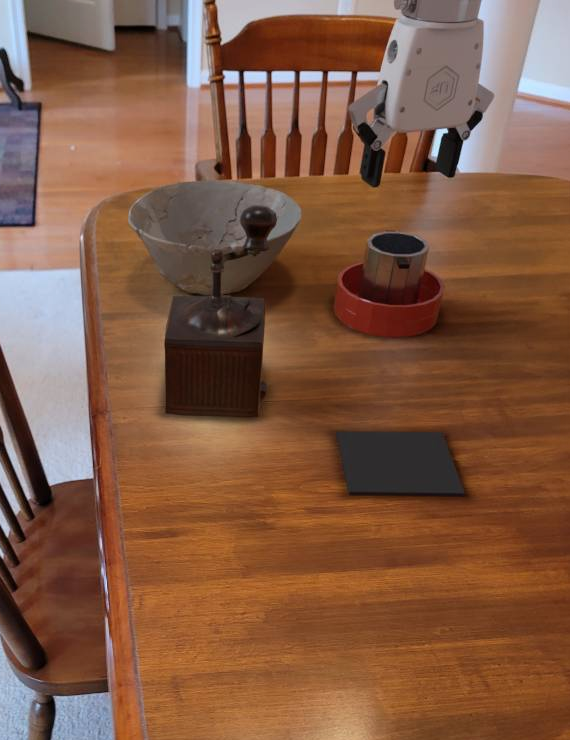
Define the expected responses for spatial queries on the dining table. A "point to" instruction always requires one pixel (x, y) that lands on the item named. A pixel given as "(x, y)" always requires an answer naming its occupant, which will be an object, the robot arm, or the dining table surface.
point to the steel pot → (393, 268)
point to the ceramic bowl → (209, 231)
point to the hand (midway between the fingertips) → (407, 178)
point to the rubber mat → (398, 464)
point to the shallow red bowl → (386, 307)
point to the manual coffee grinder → (219, 339)
